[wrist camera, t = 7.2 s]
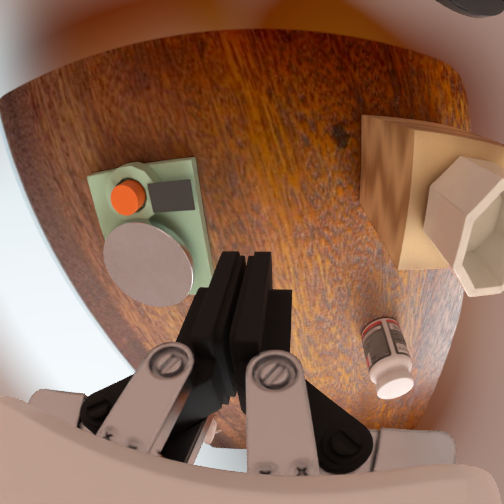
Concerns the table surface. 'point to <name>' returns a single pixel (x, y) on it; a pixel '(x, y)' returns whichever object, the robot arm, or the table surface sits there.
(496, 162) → the stand
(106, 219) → the scale
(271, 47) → the table surface
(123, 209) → the tare button
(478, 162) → the bowl
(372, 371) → the pill bottle
